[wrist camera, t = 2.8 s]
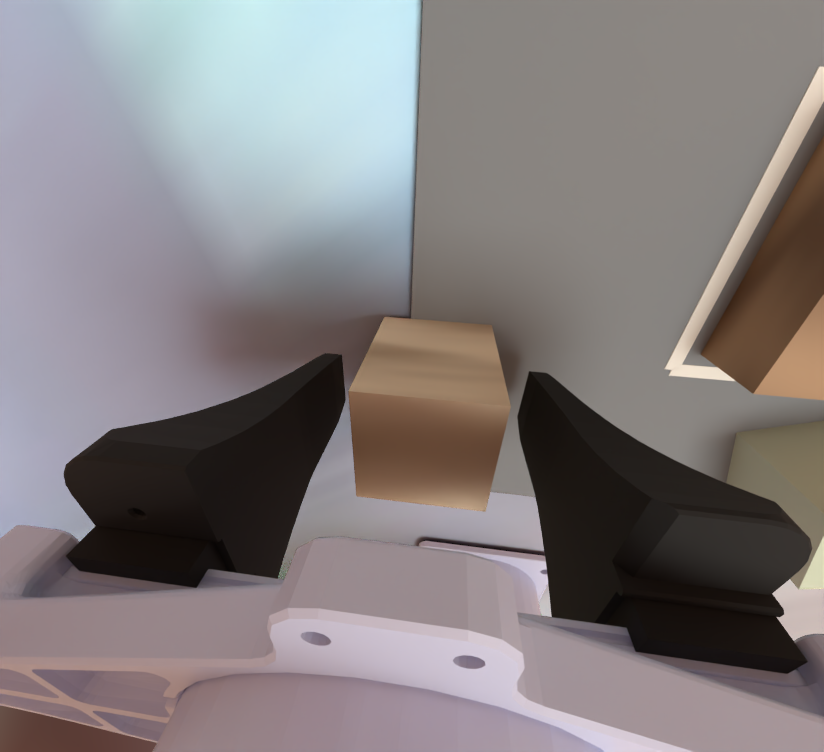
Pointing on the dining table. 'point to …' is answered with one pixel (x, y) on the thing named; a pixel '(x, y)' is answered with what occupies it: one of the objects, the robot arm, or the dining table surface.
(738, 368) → the walnut slab
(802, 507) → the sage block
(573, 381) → the mat
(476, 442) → the beech block
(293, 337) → the dining table surface
